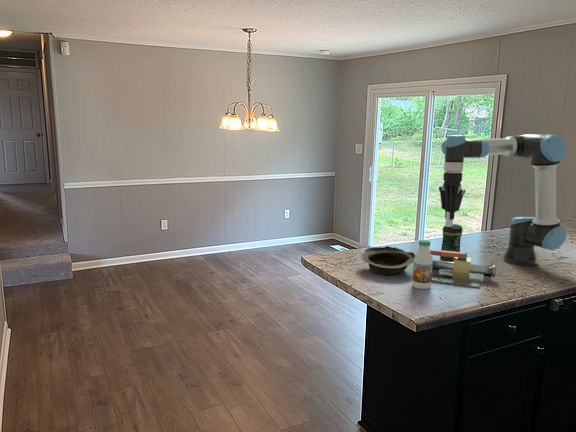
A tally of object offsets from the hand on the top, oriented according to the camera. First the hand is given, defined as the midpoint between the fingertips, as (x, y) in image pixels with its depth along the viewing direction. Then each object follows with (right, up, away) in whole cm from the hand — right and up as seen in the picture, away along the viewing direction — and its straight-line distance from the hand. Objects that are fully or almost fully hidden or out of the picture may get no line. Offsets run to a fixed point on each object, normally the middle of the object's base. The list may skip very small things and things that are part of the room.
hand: (448, 226), depth 202 cm
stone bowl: (-23, -22, +16) cm, 36 cm away
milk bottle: (-13, -26, -5) cm, 29 cm away
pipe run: (+6, -23, +8) cm, 25 cm away
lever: (+3, -14, +9) cm, 17 cm away
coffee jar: (+13, -18, +36) cm, 42 cm away
